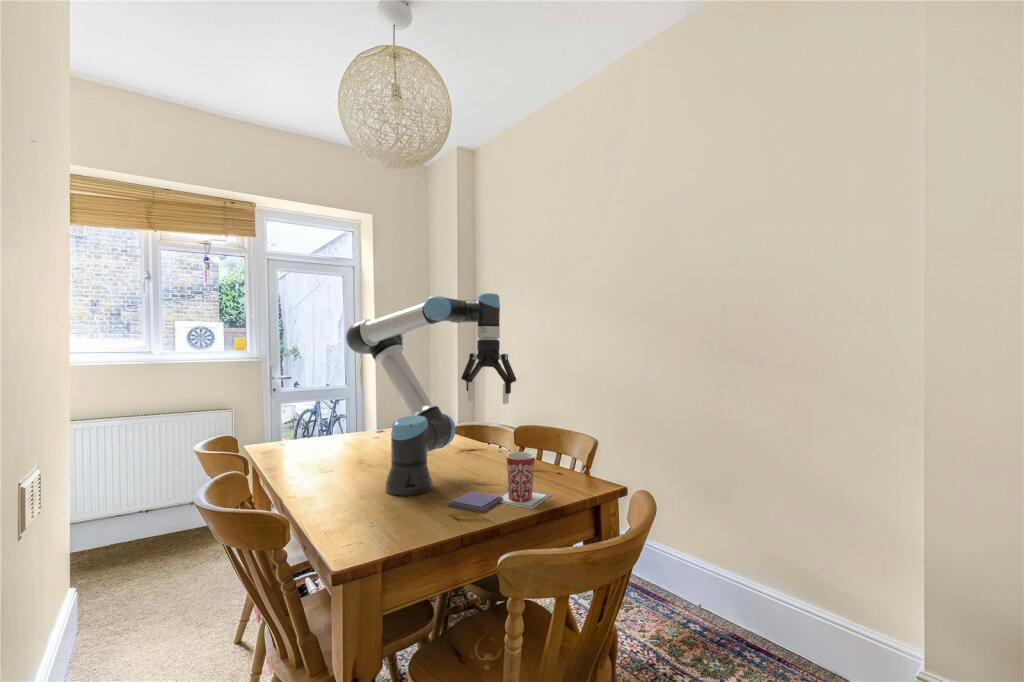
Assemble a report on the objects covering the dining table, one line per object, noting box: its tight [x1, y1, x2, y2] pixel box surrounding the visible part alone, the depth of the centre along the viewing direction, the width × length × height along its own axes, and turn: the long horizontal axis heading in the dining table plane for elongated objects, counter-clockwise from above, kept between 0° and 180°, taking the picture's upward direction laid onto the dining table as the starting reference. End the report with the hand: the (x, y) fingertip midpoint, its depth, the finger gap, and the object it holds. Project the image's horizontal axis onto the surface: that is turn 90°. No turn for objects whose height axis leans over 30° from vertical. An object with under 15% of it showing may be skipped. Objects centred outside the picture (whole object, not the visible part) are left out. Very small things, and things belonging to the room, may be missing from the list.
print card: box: [498, 490, 552, 510], centre depth 145 cm, size 14×14×1 cm
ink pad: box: [447, 491, 503, 514], centre depth 140 cm, size 12×12×1 cm
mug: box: [505, 451, 536, 502], centre depth 146 cm, size 13×9×14 cm
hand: (488, 402), depth 156 cm, fingers open, 13 cm apart
